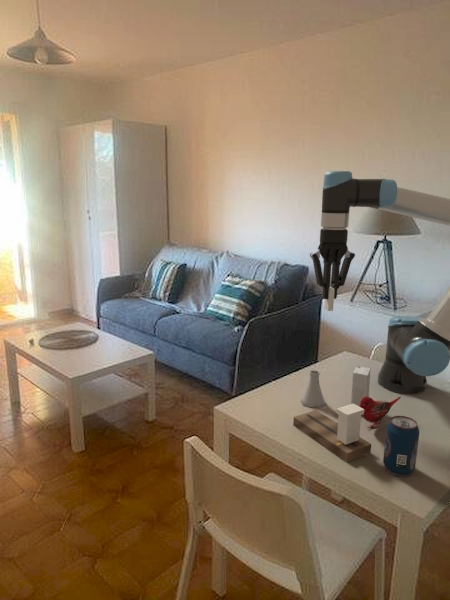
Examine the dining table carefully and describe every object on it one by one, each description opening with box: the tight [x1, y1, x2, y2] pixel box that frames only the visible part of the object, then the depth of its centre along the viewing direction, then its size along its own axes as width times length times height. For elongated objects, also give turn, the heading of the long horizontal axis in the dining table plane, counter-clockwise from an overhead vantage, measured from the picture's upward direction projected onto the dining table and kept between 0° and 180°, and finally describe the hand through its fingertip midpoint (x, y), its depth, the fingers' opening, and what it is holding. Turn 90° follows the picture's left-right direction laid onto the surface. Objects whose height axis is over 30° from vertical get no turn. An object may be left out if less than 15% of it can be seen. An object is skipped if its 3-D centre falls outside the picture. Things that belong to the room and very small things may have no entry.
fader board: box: [292, 409, 372, 463], centre depth 118 cm, size 20×8×3 cm, turn 30°
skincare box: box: [350, 366, 371, 406], centre depth 133 cm, size 6×4×12 cm
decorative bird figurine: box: [359, 396, 402, 429], centre depth 124 cm, size 3×18×10 cm, turn 123°
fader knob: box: [336, 403, 364, 445], centre depth 112 cm, size 4×6×8 cm, turn 120°
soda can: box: [383, 415, 420, 477], centre depth 105 cm, size 7×7×12 cm
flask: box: [300, 369, 326, 408], centre depth 137 cm, size 7×7×10 cm
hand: (328, 309), depth 134 cm, fingers closed
